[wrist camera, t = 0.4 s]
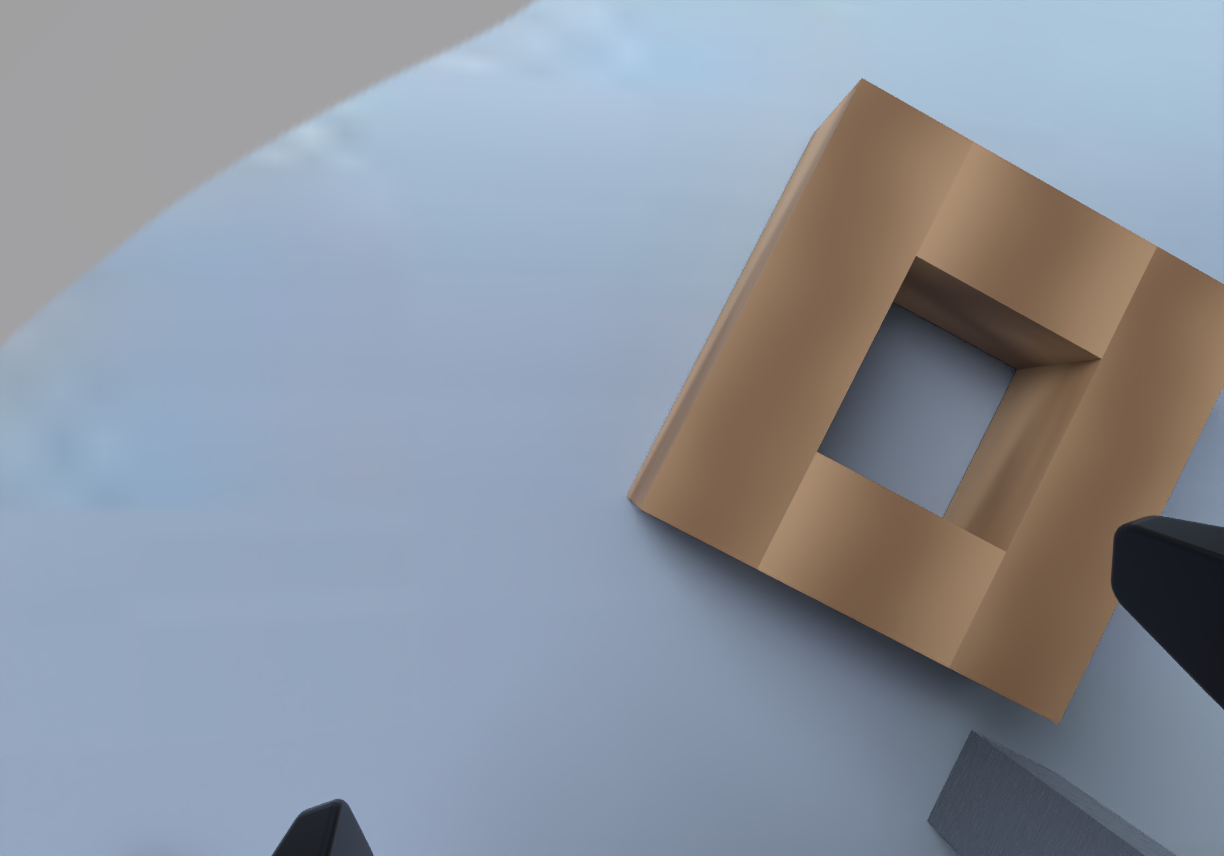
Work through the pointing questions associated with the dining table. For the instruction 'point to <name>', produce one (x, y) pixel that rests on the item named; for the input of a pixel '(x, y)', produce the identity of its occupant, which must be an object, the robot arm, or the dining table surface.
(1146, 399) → the block
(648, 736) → the dining table surface
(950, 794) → the orange and grey peg
